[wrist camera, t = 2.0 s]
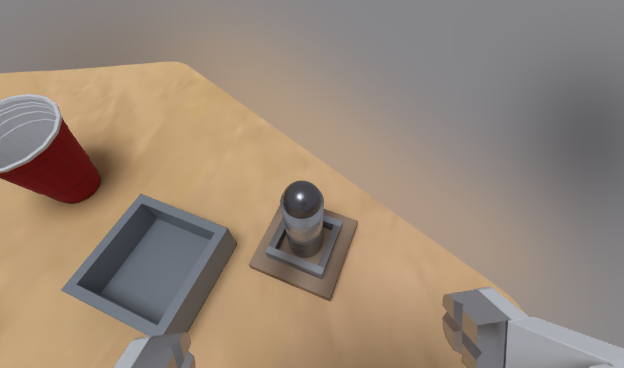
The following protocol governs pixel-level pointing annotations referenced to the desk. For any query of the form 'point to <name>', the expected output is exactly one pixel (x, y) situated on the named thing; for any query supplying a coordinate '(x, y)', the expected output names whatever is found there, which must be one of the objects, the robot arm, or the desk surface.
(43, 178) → the plastic cup
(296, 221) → the strut
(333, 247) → the socket plate
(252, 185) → the desk surface
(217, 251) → the bin
